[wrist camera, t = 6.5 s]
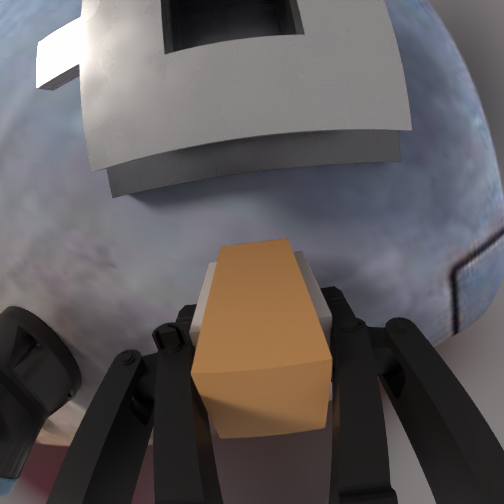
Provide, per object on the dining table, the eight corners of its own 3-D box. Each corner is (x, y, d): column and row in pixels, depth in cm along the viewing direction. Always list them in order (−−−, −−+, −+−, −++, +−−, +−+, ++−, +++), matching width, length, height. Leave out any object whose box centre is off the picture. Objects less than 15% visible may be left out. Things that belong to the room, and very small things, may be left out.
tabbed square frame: (388, 159, 18) (460, 175, 10) (124, 192, 19) (56, 226, 11) (346, -34, 11) (379, -87, 3) (107, 0, 12) (54, -37, 4)
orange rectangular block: (292, 295, 18) (325, 427, 8) (231, 303, 18) (220, 438, 9) (287, 238, 16) (332, 358, 7) (220, 246, 16) (190, 373, 7)
